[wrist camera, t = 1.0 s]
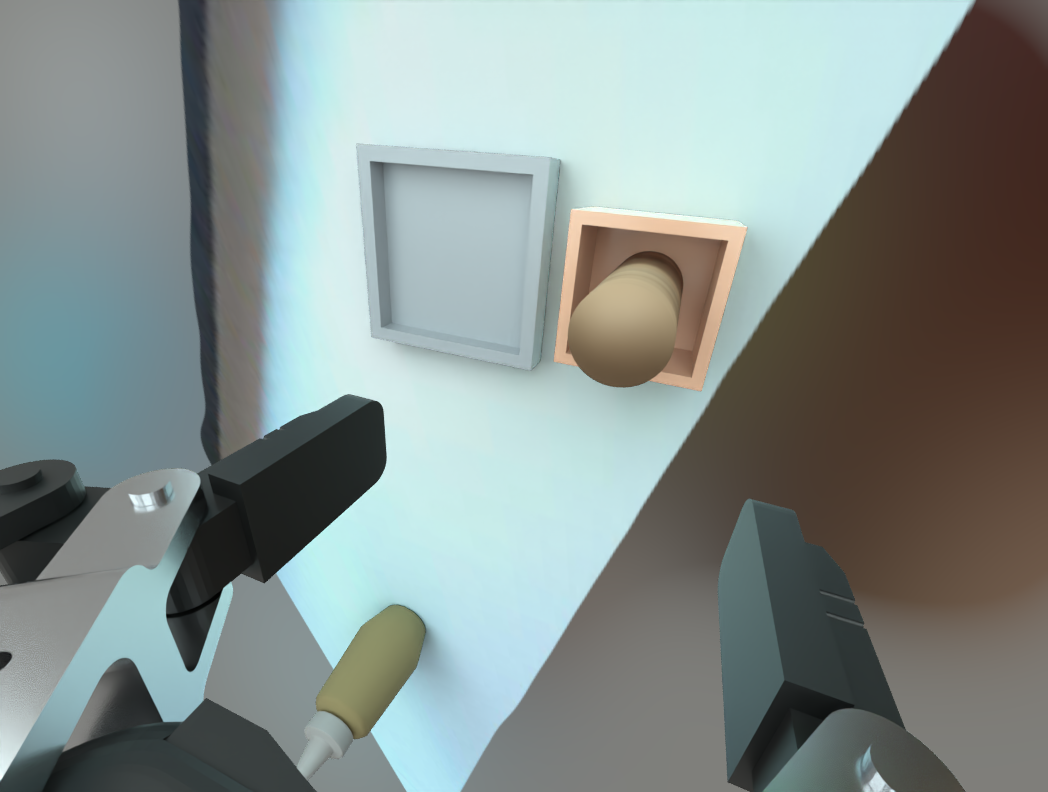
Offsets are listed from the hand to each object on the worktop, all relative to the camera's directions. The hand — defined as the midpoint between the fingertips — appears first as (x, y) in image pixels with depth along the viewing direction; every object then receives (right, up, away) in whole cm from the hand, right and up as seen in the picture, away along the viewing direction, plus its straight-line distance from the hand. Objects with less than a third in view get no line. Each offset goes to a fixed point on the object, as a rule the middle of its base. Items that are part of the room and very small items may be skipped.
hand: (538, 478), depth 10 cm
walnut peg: (+8, +9, +19) cm, 23 cm away
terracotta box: (+8, +9, +20) cm, 24 cm away
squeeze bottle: (-15, -26, +46) cm, 55 cm away
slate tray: (-5, +12, +24) cm, 27 cm away
